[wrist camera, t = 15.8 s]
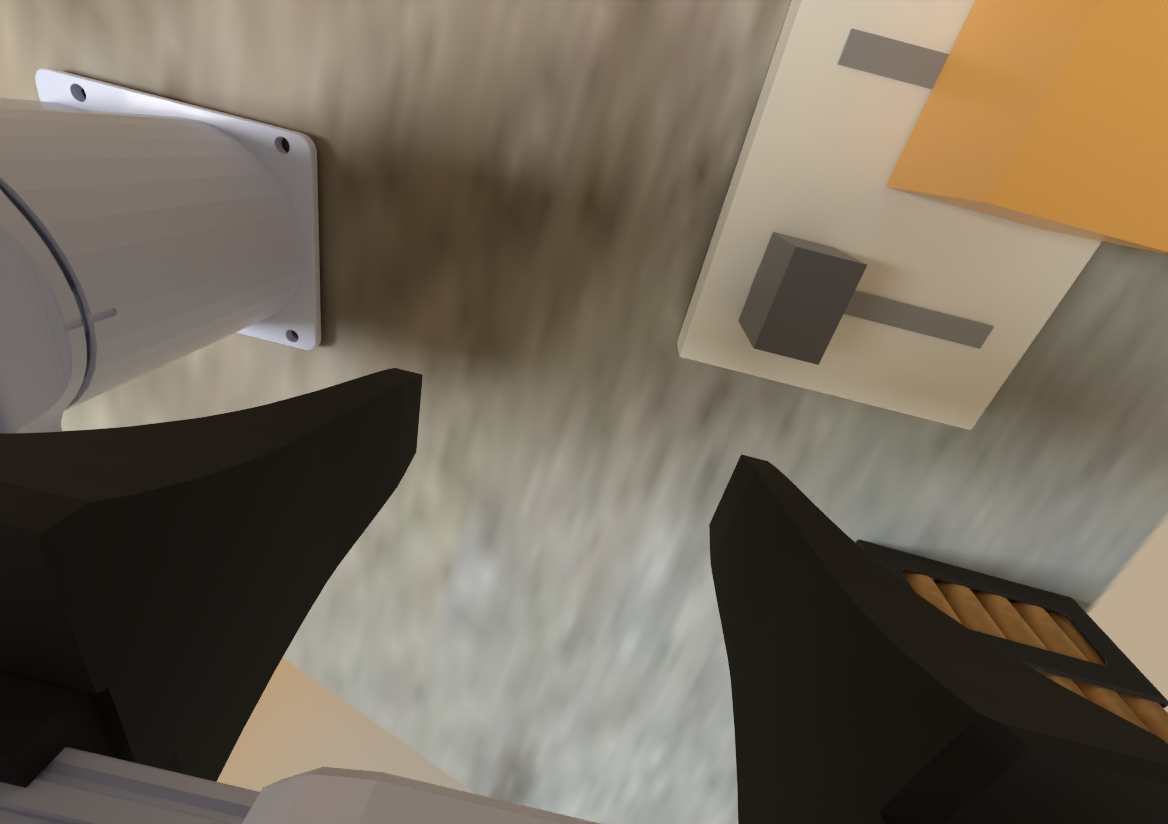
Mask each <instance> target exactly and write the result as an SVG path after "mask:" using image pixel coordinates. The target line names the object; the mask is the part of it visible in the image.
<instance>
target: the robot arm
mask: <svg viewBox="0 0 1168 824" xmlns="http://www.w3.org/2000/svg"><path fill="white" fill-rule="evenodd" d="M35 79H36V85H37V89H38V93H39V97H40V101H33V100H20V99H7V98H0V824H600V823H595V822H591V821H587V820H583V819H578V818H574V817H570V816H566V815H561V814H557V813H553V812H549V811H544V810H540V809H536V808H532V807H527V806H523V805H519V804H515V803H511V802H506V801H502V800H498V799H494V798H489V797H485V796H481V795H477V794H472V793H468V792H464V791H459V790H455V789H451V788H447V787H443V786H438V785H434V784H430V783H426V782H421V781H417V780H412V779H409V778H404V777H400V776H396V775H391V774H388V773H383V772H374V771H362V770H352V769H341V768H330V767H321V768H318V769H315V770H311V771H309V772H305V773H302V774H299V775H295V776H292V777H289V778H285V779H282V780H280V781H278V782H276V783H273V784H271V785H268V786H266V787H264V788H263V789H262V791H261V792H257V791H253V790H249V789H245V788H240V787H236V786H232V785H227V784H223V783H219V782H216V781H217V779H218V777H219V775H220V773H221V772H222V770H223V767H224V766H225V763H226V762H227V760H228V758H229V756H230V754H231V752H232V750H233V748H234V746H235V744H236V742H237V740H238V738H239V736H240V734H241V732H242V730H243V728H244V726H245V725H246V723H247V721H248V719H249V717H250V716H251V714H252V712H253V710H254V708H255V706H256V704H257V703H258V701H259V699H260V697H261V695H262V693H263V691H264V690H265V688H266V686H267V684H268V682H269V680H270V678H271V677H272V675H273V673H274V671H275V669H276V667H277V666H278V664H279V662H280V661H281V659H282V657H283V655H284V654H285V652H286V650H287V648H288V647H289V645H290V643H291V641H292V640H293V638H294V636H295V634H296V633H297V631H298V629H299V627H300V626H301V624H302V622H303V621H304V619H305V617H306V616H307V614H308V612H309V611H310V609H311V607H312V606H313V604H314V602H315V601H316V599H317V597H318V596H319V594H320V592H321V591H322V589H323V587H324V586H325V584H326V582H327V581H328V579H329V578H330V577H331V575H332V574H333V572H334V571H335V569H336V568H337V566H338V565H339V563H340V562H341V561H342V560H343V558H344V557H345V556H346V554H347V553H348V552H349V550H350V549H351V548H352V546H353V545H354V544H355V542H356V541H357V540H358V538H359V537H360V536H361V534H362V533H363V532H364V531H365V529H366V528H367V527H368V525H369V524H370V523H371V521H372V520H373V519H374V517H375V516H376V515H377V513H378V512H379V511H380V509H381V508H382V507H383V505H384V504H385V503H386V501H387V500H388V499H389V497H390V496H391V495H392V493H393V492H394V491H395V489H396V488H397V486H398V484H399V483H400V481H401V479H402V477H403V476H404V474H405V472H406V470H407V468H408V466H409V465H410V463H411V461H412V459H413V457H414V455H415V453H416V448H417V435H418V423H419V411H420V399H421V386H422V375H421V374H417V373H413V372H409V371H405V370H401V369H397V368H393V369H388V370H384V371H380V372H376V373H373V374H370V375H366V376H363V377H360V378H357V379H354V380H351V381H347V382H344V383H341V384H338V385H335V386H331V387H328V388H325V389H322V390H319V391H315V392H312V393H308V394H304V395H301V396H297V397H293V398H289V399H286V400H282V401H278V402H275V403H271V404H267V405H263V406H259V407H254V408H250V409H245V410H240V411H235V412H230V413H224V414H219V415H213V416H208V417H202V418H195V419H188V420H180V421H172V422H164V423H156V424H148V425H140V426H131V427H120V428H108V429H95V430H79V431H62V429H61V418H62V415H63V412H64V411H65V410H67V409H69V408H71V407H73V406H76V405H78V404H80V403H82V402H84V401H87V400H89V399H91V398H93V397H95V396H98V395H100V394H102V393H104V392H106V391H109V390H111V389H113V388H115V387H117V386H119V385H122V384H124V383H126V382H128V381H130V380H133V379H135V378H137V377H139V376H141V375H144V374H146V373H148V372H150V371H152V370H155V369H157V368H159V367H161V366H163V365H166V364H168V363H170V362H172V361H174V360H176V359H179V358H181V357H183V356H185V355H187V354H190V353H192V352H194V351H196V350H198V349H201V348H203V347H205V346H207V345H209V344H212V343H214V342H216V341H218V340H220V339H223V338H225V337H227V336H229V335H231V334H233V333H240V334H244V335H248V336H252V337H256V338H260V339H264V340H268V341H272V342H276V343H280V344H284V345H288V346H292V347H296V348H300V349H304V350H312V349H314V348H316V347H318V346H319V344H320V343H321V310H320V267H319V223H318V180H317V151H316V146H315V144H314V142H313V140H312V139H311V138H310V137H309V136H308V135H306V134H304V133H301V132H297V131H293V130H289V129H285V128H281V127H278V126H274V125H270V124H266V123H262V122H258V121H254V120H250V119H247V118H243V117H239V116H235V115H231V114H227V113H223V112H219V111H216V110H212V109H208V108H204V107H200V106H196V105H192V104H188V103H185V102H181V101H177V100H173V99H169V98H165V97H161V96H157V95H154V94H150V93H146V92H142V91H138V90H134V89H130V88H126V87H122V86H119V85H115V84H111V83H107V82H103V81H99V80H95V79H91V78H88V77H84V76H80V75H76V74H72V73H68V72H64V71H60V70H57V69H50V68H40V69H39V70H37V72H36V75H35ZM82 88H83V89H84V91H85V93H86V98H85V97H84V96H83V93H82ZM283 138H285V139H286V140H287V141H288V142H289V145H290V150H289V152H288V153H287V152H286V151H285V150H284V149H283V146H282V139H283ZM292 330H293V331H295V332H296V333H297V334H298V337H299V338H298V339H297V338H295V337H294V336H293V334H292ZM710 557H711V568H712V574H713V580H714V586H715V591H716V597H717V602H718V608H719V613H720V618H721V624H722V629H723V634H724V640H725V645H726V650H727V656H728V662H729V670H730V677H731V687H732V700H733V713H734V726H735V744H736V764H737V784H738V822H739V824H1168V744H1167V743H1166V742H1165V741H1164V740H1163V739H1161V738H1160V737H1158V736H1156V735H1154V734H1152V733H1151V732H1149V731H1147V730H1145V729H1143V728H1141V727H1139V726H1137V725H1135V724H1133V723H1132V722H1130V721H1128V720H1126V719H1124V718H1122V717H1120V716H1118V715H1116V714H1114V713H1113V712H1111V711H1109V710H1107V709H1105V708H1103V707H1101V706H1099V705H1097V704H1095V703H1094V702H1092V701H1090V700H1088V699H1086V698H1084V697H1082V696H1080V695H1078V694H1076V693H1075V692H1073V691H1071V690H1069V689H1067V688H1065V687H1064V686H1062V685H1060V684H1058V683H1056V682H1055V681H1053V680H1051V679H1050V678H1048V677H1046V676H1044V675H1043V674H1041V673H1039V672H1038V671H1036V670H1034V669H1033V668H1031V667H1029V666H1027V665H1026V664H1024V663H1022V662H1021V661H1019V660H1017V659H1015V658H1014V657H1012V656H1010V655H1009V654H1007V653H1006V652H1004V651H1002V650H1001V649H999V648H998V647H996V646H994V645H993V644H991V643H990V642H988V641H986V640H985V639H983V638H982V637H980V636H978V635H977V634H975V633H974V632H972V631H971V630H969V629H968V628H967V627H965V626H964V625H962V624H961V623H959V622H958V621H956V620H955V619H953V618H952V617H950V616H949V615H947V614H946V613H944V612H943V611H941V610H940V609H938V608H937V607H936V606H934V605H933V604H931V603H930V602H929V601H927V600H926V599H924V598H923V597H922V596H920V595H919V594H918V593H916V592H915V591H914V590H912V589H911V588H910V587H909V586H907V585H906V584H905V583H903V582H902V581H901V580H899V579H898V578H897V577H896V576H894V575H893V574H892V573H890V572H889V571H888V570H887V569H885V568H884V567H883V566H882V565H880V564H879V563H878V562H877V561H876V560H874V559H873V558H872V557H871V556H870V555H869V554H867V553H866V552H865V551H864V550H863V549H862V548H861V547H860V546H858V545H857V544H856V543H855V542H854V541H853V540H852V539H850V538H849V537H848V536H847V535H846V534H845V533H844V532H843V531H842V530H841V529H840V528H838V527H837V526H836V525H835V524H834V523H833V522H832V521H831V520H830V519H829V518H828V517H827V516H826V515H825V514H824V513H823V512H822V511H821V510H820V509H819V508H818V507H817V506H815V505H814V504H813V503H812V502H811V501H810V500H809V499H808V498H807V497H806V496H805V495H804V494H803V493H802V492H801V491H800V490H799V489H798V488H797V487H796V486H795V485H794V484H793V483H792V482H791V481H790V480H789V479H788V478H787V477H786V476H785V475H784V474H783V473H782V472H780V471H779V470H778V469H777V468H776V467H775V466H773V465H772V464H771V463H770V462H768V461H765V460H761V459H757V458H753V457H749V456H745V455H741V456H740V459H739V461H738V463H737V465H736V467H735V470H734V472H733V474H732V476H731V478H730V481H729V483H728V485H727V487H726V489H725V492H724V494H723V496H722V498H721V501H720V503H719V505H718V507H717V509H716V512H715V514H714V516H713V518H712V520H711V523H710Z"/></svg>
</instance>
